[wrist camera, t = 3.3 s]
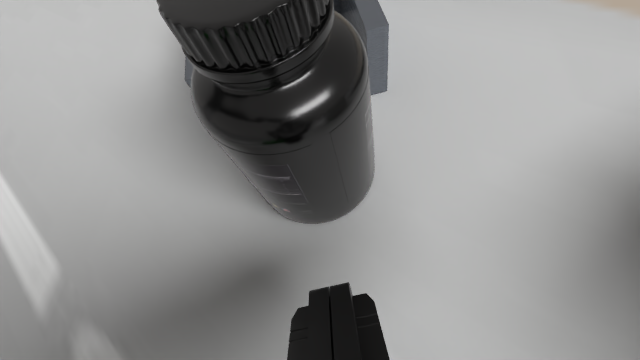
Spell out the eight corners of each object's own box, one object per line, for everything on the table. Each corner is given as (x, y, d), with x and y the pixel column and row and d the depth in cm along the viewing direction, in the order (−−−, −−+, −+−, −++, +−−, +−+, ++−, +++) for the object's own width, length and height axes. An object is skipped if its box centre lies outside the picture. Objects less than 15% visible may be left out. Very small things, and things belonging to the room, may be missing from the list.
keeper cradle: (386, 90, 21) (390, -61, 13) (224, 133, 22) (135, 13, 14) (351, -1, 26) (338, -150, 18) (219, 36, 27) (153, -92, 19)
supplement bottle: (300, 114, 21) (224, -107, 11) (394, 150, 19) (412, -91, 8) (240, 197, 19) (73, 20, 9) (337, 250, 17) (266, 92, 6)
